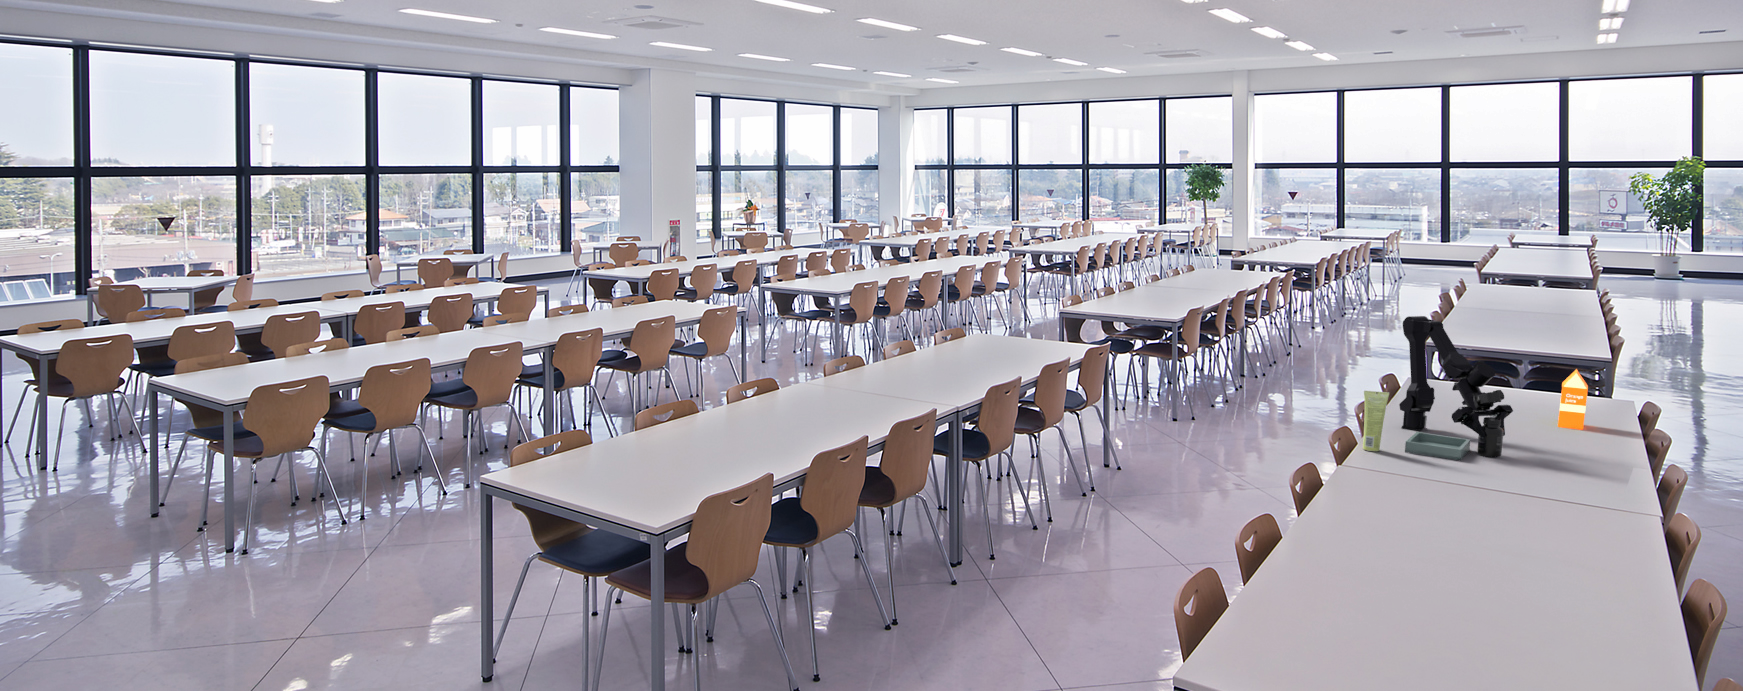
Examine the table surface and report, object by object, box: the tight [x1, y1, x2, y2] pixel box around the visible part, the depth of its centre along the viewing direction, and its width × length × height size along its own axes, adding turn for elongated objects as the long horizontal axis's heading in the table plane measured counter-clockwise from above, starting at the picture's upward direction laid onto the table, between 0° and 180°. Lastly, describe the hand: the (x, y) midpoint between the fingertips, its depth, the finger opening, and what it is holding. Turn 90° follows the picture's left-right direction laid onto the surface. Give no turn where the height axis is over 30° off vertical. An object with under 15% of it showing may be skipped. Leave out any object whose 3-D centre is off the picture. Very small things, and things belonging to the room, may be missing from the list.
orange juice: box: [1557, 368, 1589, 431], centre depth 383 cm, size 8×9×20 cm
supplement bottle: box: [1476, 416, 1504, 459], centre depth 345 cm, size 7×7×12 cm
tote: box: [1404, 431, 1472, 461], centre depth 351 cm, size 16×16×4 cm
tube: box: [1362, 390, 1390, 452], centre depth 351 cm, size 6×5×20 cm
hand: (1494, 436), depth 344 cm, fingers closed on supplement bottle, 7 cm apart
